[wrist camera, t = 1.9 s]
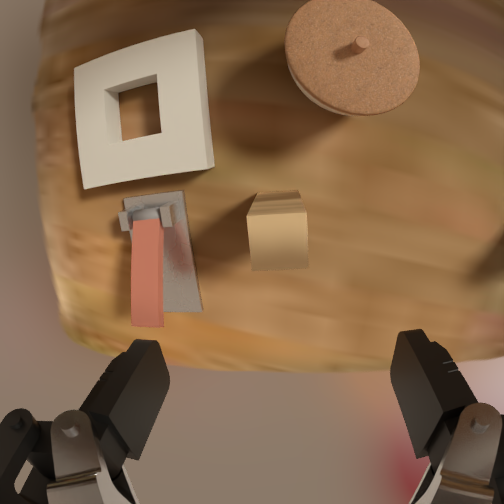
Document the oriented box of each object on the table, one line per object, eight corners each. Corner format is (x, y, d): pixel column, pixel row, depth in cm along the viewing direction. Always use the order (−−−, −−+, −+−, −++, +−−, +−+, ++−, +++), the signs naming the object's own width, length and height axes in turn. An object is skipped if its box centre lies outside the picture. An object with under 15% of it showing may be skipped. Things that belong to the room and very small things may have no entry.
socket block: (88, 72, 25) (74, 68, 23) (202, 38, 24) (195, 28, 21) (98, 184, 30) (83, 189, 27) (214, 166, 29) (207, 169, 26)
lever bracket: (126, 197, 30) (111, 203, 28) (183, 189, 30) (173, 195, 27) (150, 309, 35) (140, 322, 32) (203, 309, 34) (196, 324, 31)
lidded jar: (407, 75, 23) (451, 55, 14) (346, 144, 27) (375, 144, 18) (327, 8, 22) (342, -36, 13) (261, 74, 25) (252, 44, 16)
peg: (257, 192, 29) (246, 216, 20) (298, 190, 29) (306, 212, 19) (260, 231, 31) (251, 271, 21) (300, 229, 30) (308, 268, 21)
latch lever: (140, 212, 30) (133, 208, 28) (165, 209, 30) (159, 204, 28) (138, 325, 28) (130, 326, 26) (164, 326, 28) (157, 327, 26)
